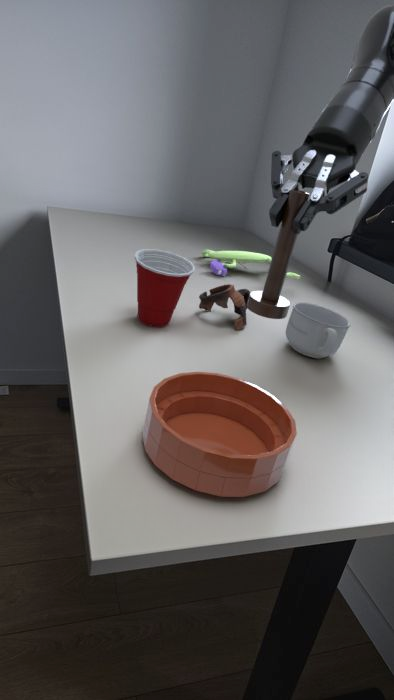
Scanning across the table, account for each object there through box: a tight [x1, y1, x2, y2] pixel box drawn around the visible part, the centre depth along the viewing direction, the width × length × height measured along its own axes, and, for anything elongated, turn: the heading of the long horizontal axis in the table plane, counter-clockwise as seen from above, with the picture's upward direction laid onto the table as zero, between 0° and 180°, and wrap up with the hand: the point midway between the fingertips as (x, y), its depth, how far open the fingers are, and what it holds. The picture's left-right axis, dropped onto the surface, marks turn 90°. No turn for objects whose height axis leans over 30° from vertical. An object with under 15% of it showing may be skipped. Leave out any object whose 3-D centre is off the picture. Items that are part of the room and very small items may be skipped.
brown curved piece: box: [198, 283, 252, 331], centre depth 99 cm, size 12×10×8 cm
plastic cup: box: [133, 248, 196, 328], centre depth 88 cm, size 11×11×12 cm
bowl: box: [141, 371, 298, 498], centre depth 59 cm, size 17×17×6 cm
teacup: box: [285, 301, 351, 359], centre depth 91 cm, size 14×11×8 cm
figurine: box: [201, 249, 301, 281], centre depth 131 cm, size 18×27×6 cm
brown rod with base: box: [247, 189, 310, 320], centre depth 64 cm, size 6×6×16 cm
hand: (284, 225), depth 61 cm, fingers closed on brown rod with base, 2 cm apart
